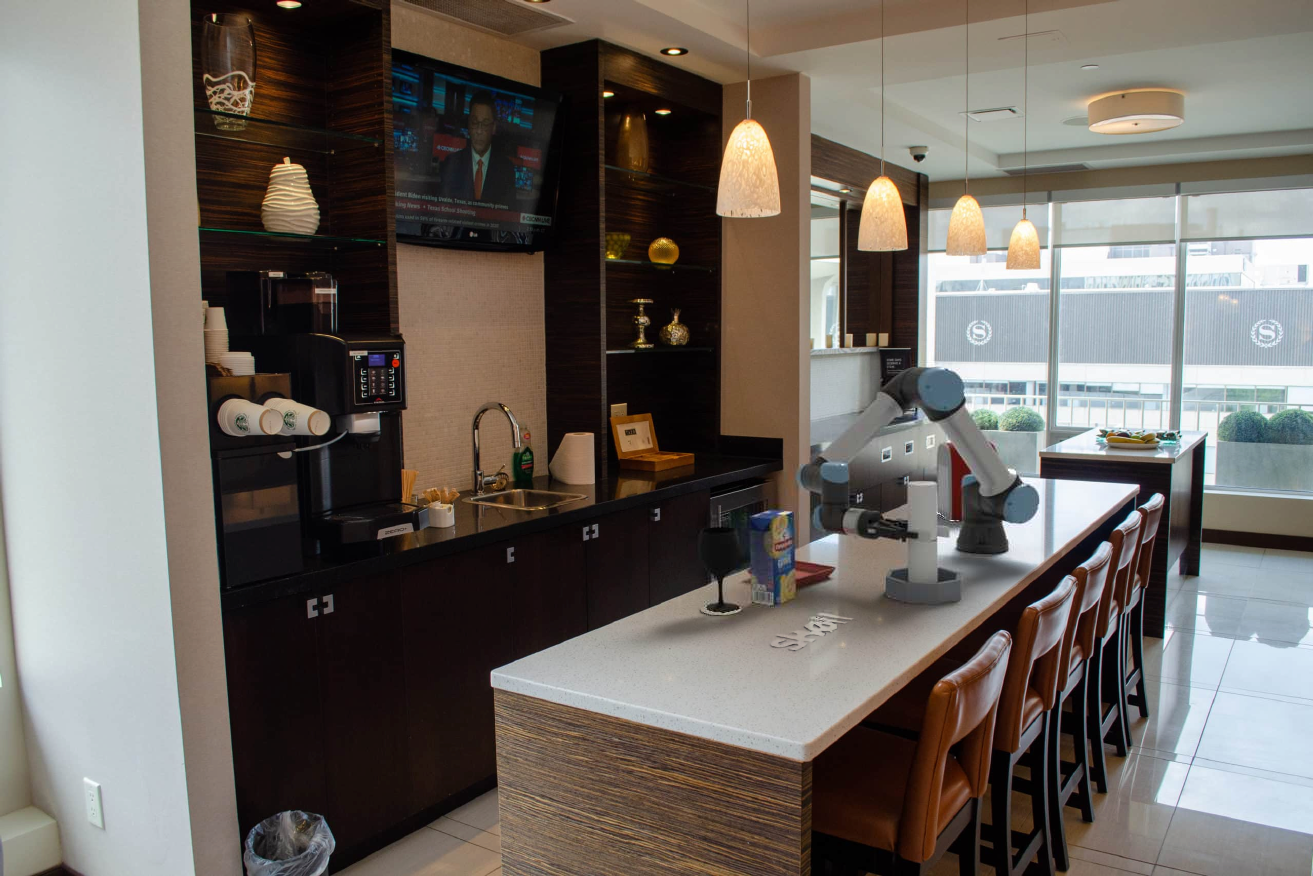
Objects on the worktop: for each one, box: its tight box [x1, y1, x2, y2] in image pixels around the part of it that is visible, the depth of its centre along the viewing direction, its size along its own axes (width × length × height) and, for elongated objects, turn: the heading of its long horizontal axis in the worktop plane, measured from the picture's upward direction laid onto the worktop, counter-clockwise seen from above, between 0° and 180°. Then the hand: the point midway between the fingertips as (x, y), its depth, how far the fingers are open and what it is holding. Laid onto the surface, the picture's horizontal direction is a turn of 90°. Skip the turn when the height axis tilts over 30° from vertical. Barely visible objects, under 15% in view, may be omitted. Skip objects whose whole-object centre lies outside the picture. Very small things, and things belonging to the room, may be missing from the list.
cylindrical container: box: [906, 480, 938, 583], centre depth 244 cm, size 7×7×25 cm
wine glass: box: [697, 526, 741, 613], centre depth 238 cm, size 10×10×20 cm
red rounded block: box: [936, 440, 999, 521], centre depth 346 cm, size 16×18×27 cm
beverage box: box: [748, 509, 797, 606], centre depth 245 cm, size 7×11×22 cm, turn 144°
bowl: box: [885, 566, 962, 605], centre depth 246 cm, size 18×18×5 cm
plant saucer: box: [746, 559, 837, 588], centre depth 268 cm, size 18×18×3 cm
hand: (939, 534), depth 241 cm, fingers closed on cylindrical container, 7 cm apart
